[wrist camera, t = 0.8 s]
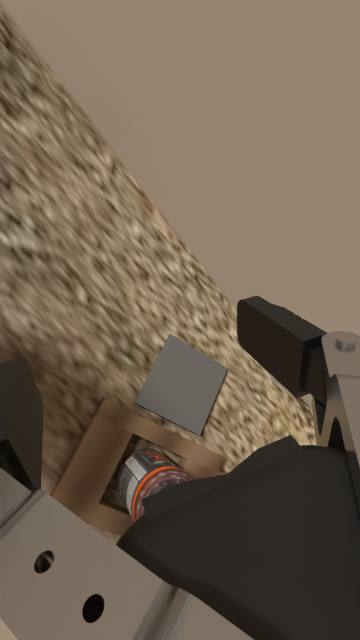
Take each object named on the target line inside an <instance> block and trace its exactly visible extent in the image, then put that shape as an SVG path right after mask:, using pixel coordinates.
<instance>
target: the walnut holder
mask: <svg viewBox="0 0 360 640" xmlns="http://www.w3.org/2000/svg"><path fill="white" fill-rule="evenodd" d="M133 433H134V434H136V435H138V436H140V437H142V438H144V439H146V440H148V441H150V442H153V443H155V444H157V445H159V446H161V447H163V448H165V449H167V450H169V451H172V452H174V453H176V454H178V455H180V456H182V457H181V459H180V462H179V464H178V467H179V468H180V469H182V470H183V471H184V472H185V473H186V474H188V475H189V476H190V477H191V479H192V480H196V479H202V478H208V477H214V476H217V474H218V471H219V468H220V466H221V463H222V461H223V458H224V457H222V456H220V455H218V454H216V453H214V452H212V451H210V450H208V449H206V448H204V447H202V446H200V445H198V444H196V443H194V442H192V441H190V440H188V439H186V438H184V437H182V436H180V435H178V434H176V433H174V432H172V431H170V430H168V429H166V428H164V427H162V426H160V425H158V424H156V423H154V422H152V421H150V420H148V419H146V418H144V417H142V416H140V415H138V414H136V413H134V412H132V411H130V410H128V409H126V408H123V407H121V406H119V405H117V404H115V403H113V402H111V401H109V400H107V399H105V398H103V399H102V401H101V403H100V405H99V406H98V408H97V410H96V412H95V414H94V416H93V417H92V419H91V421H90V423H89V425H88V427H87V429H86V430H85V432H84V434H83V436H82V438H81V440H80V441H79V443H78V445H77V447H76V449H75V451H74V452H73V454H72V456H71V458H70V460H69V462H68V464H67V465H66V467H65V469H64V471H63V473H62V475H61V476H60V478H59V480H58V482H57V484H56V486H55V487H54V489H53V491H52V493H51V495H50V496H51V497H53V498H54V499H55V500H57V501H58V502H59V503H61V504H62V505H63V506H65V507H66V508H67V509H69V510H70V511H71V512H72V513H74V514H75V515H76V516H78V517H79V518H80V519H82V520H83V521H84V522H86V523H88V524H91V525H94V526H96V527H99V528H102V529H105V530H107V531H110V532H113V533H116V534H118V535H121V536H122V535H123V534H124V533H125V532H126V530H127V529H128V528H129V527H130V526H131V525H132V524H133V523H134V521H133V520H132V517H131V516H130V514H129V512H128V510H127V509H125V508H122V507H120V506H117V505H115V504H112V503H109V502H107V501H104V500H102V499H101V498H102V496H103V494H104V491H105V489H106V487H107V485H108V483H109V481H110V479H111V477H112V475H113V473H114V471H115V469H116V467H117V465H118V463H119V461H120V459H121V457H122V455H123V453H124V450H125V448H126V446H127V444H128V442H129V440H130V438H131V436H132V434H133Z"/></svg>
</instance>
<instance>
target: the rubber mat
mask: <svg viewBox="0 0 360 640" xmlns="http://www.w3.org/2000/svg"><path fill="white" fill-rule="evenodd" d="M226 371H227V368H226V367H224V366H222V365H221V364H219V363H217V362H216V361H214V360H212V359H211V358H209V357H207V356H206V355H204V354H202V353H201V352H199V351H197V350H196V349H194V348H192V347H191V346H189V345H187V344H186V343H184V342H182V341H181V340H179V339H177V338H176V337H174V336H172V335H171V334H170V335H169V336H168V338H167V340H166V342H165V344H164V346H163V348H162V350H161V352H160V354H159V356H158V358H157V360H156V362H155V364H154V366H153V368H152V370H151V372H150V374H149V376H148V378H147V380H146V382H145V384H144V386H143V388H142V390H141V392H140V394H139V396H138V398H137V400H136V402H135V403H136V404H138V405H140V406H142V407H144V408H146V409H148V410H150V411H152V412H154V413H156V414H158V415H160V416H162V417H164V418H166V419H168V420H170V421H172V422H174V423H176V424H178V425H180V426H182V427H184V428H186V429H188V430H189V431H191V432H193V433H195V434H197V435H200V434H201V432H202V429H203V427H204V425H205V422H206V420H207V417H208V415H209V412H210V410H211V408H212V405H213V403H214V400H215V398H216V395H217V393H218V391H219V388H220V386H221V383H222V381H223V378H224V376H225V374H226Z"/></svg>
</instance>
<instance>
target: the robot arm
mask: <svg viewBox="0 0 360 640" xmlns="http://www.w3.org/2000/svg"><path fill="white" fill-rule="evenodd" d="M237 336H238V340H239V343H240V345H241V346H242V348H243V349H244V350H245V351H246V352H247V353H249V354H250V355H251V356H252V357H253V358H254V359H255V360H256V361H257V362H258V363H259V364H260V365H261V366H263V367H264V368H265V369H266V370H267V371H268V372H269V373H270V374H271V375H272V376H273V377H274V378H275V379H277V380H278V381H279V382H280V383H281V384H282V385H283V386H284V387H285V388H286V389H287V390H288V391H289V392H291V393H292V394H293V395H294V396H295V397H296V398H299V397H302V396H304V395H306V394H309V393H310V394H311V395H312V396H313V397H312V411H313V419H314V427H315V435H316V443H317V446H316V445H302V446H300V445H299V444H298V443H297V442H296V441H295V440H294V438H293V437H292V436H291V435H289V436H287V437H285V438H282V439H280V440H278V441H275V442H273V443H271V444H268V445H266V446H264V447H261V448H259V449H257V450H256V451H255V452H254V453H252V454H251V455H250V456H249V457H248V458H246V459H245V460H244V461H243V462H242V463H240V464H239V465H238V466H237V467H235V468H234V469H233V470H232V471H231V472H229V473H227V474H225V475H220V476H214V477H208V478H202V479H196V480H190V481H183V482H180V483H178V484H176V485H173V486H171V487H169V488H167V489H164V490H162V491H160V492H157V493H155V494H153V495H150V496H148V497H146V498H143V499H141V500H142V504H143V508H144V511H145V514H144V515H142V516H141V517H140V518H139V519H137V520H136V521H135V522H134V523H133V524H132V525H131V526H130V527H129V528H128V529H127V530H126V532H125V533H124V534H123V535H122V537H121V538H120V539H119V540H118V542H117V543H116V545H115V544H114V543H112V542H111V541H110V540H108V539H107V538H106V537H104V536H103V535H102V534H100V533H99V532H98V531H96V530H95V529H94V528H92V527H91V526H90V525H88V524H87V523H86V522H84V521H83V520H82V519H80V518H79V517H78V516H76V515H75V514H74V513H72V512H71V511H70V510H69V509H67V508H66V507H65V506H63V505H62V504H61V503H59V502H58V501H57V500H55V499H54V498H53V497H51V496H50V495H49V494H47V493H46V492H44V491H43V490H41V464H42V435H43V404H42V399H41V396H40V393H39V391H38V388H37V386H36V384H35V381H34V379H33V377H32V374H31V372H30V370H29V367H28V365H27V363H26V361H25V359H24V358H19V359H16V360H12V361H8V362H4V363H1V364H0V618H1V619H2V620H3V621H4V622H5V624H6V625H7V626H8V628H9V629H10V630H11V631H12V632H13V634H14V635H15V636H16V637H17V639H18V640H360V336H359V335H357V334H354V333H350V332H342V331H336V332H330V333H326V332H325V331H323V330H321V329H320V328H318V327H316V326H315V325H313V324H311V323H309V322H308V321H306V320H304V319H301V317H299V316H298V315H296V314H295V315H294V314H293V313H292V312H291V311H289V310H287V309H286V308H284V307H280V306H277V305H274V304H271V303H269V302H267V301H266V300H264V299H263V298H261V297H259V296H254V297H250V298H246V299H242V300H240V301H239V302H238V305H237Z"/></svg>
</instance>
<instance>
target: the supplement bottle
mask: <svg viewBox="0 0 360 640" xmlns="http://www.w3.org/2000/svg"><path fill="white" fill-rule="evenodd" d="M190 480H192V479H191V477H190V476H189V475H188V474H186V473H185V472H184V471H183V470H182V469H180V468H179V467H178V466H176V465H175V464H174V463H173V462H171V461H170V460H169V459H167V458H166V457H165V456H163V455H162V454H161V453H159V452H158V451H155V450H152V449H140V450H136V451H134V452H133V453H131V454H130V455H129V456H128V457H127V458H126V459H125V460H124V461H123V463H122V464H121V466H120V468H119V471H118V475H117V487H118V491H119V494H120V496H121V499H122V500H123V502H124V504H125V506H126V508H127V510H128V512H129V514H130V516H131V517H132V520H133V521H134V522H135V521H136V520H137V519H139V518H140V517H141V516H142V515H144V514H145V511H144V508H143V504H142V500H141V499H143V498H146V497H148V496H150V495H153V494H155V493H157V492H160V491H162V490H164V489H167V488H169V487H171V486H173V485H176V484H178V483H180V482H183V481H190Z"/></svg>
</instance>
